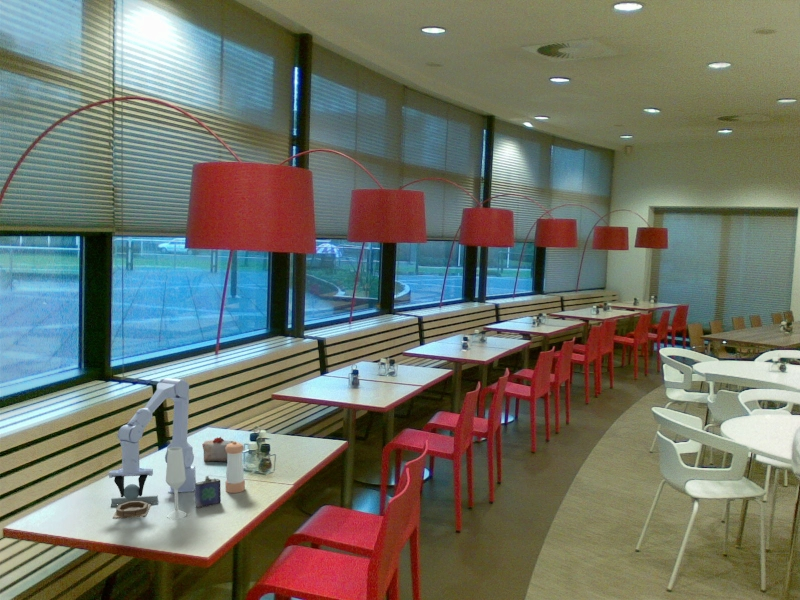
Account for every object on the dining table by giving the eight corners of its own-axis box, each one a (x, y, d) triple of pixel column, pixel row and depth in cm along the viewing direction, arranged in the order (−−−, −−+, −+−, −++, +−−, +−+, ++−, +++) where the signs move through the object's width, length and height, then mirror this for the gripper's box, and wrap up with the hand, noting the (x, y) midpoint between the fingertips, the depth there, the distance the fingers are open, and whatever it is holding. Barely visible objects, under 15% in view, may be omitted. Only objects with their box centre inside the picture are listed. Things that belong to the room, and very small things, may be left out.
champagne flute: (163, 514, 251) (162, 448, 248) (182, 510, 255) (181, 444, 252) (170, 520, 245) (168, 453, 243) (189, 516, 250) (188, 449, 247)
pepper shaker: (248, 489, 275) (247, 441, 273) (232, 494, 270) (231, 445, 268) (237, 484, 280) (237, 437, 278) (221, 489, 275) (220, 441, 273)
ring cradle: (151, 504, 260) (150, 499, 259) (145, 516, 249) (145, 511, 249) (119, 506, 258) (119, 501, 257) (112, 518, 247) (112, 513, 247)
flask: (196, 508, 256) (195, 479, 255) (194, 506, 259) (193, 477, 258) (221, 503, 261) (221, 475, 260) (219, 501, 263) (218, 473, 262)
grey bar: (158, 500, 263) (158, 494, 263) (157, 503, 260) (156, 497, 260) (112, 503, 261) (112, 496, 260) (110, 506, 258) (110, 499, 257)
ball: (141, 496, 256) (141, 481, 255) (138, 502, 251) (138, 486, 250) (125, 497, 255) (124, 482, 254) (122, 502, 250) (121, 487, 249)
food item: (200, 462, 307) (200, 440, 306) (206, 456, 315) (206, 434, 314) (231, 463, 306) (230, 440, 305) (236, 457, 314) (236, 435, 313)
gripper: (106, 463, 246) (107, 501, 247) (150, 461, 249) (151, 498, 250) (110, 456, 253) (112, 493, 254) (153, 454, 256) (154, 491, 257)
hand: (131, 495), depth 253 cm, fingers closed on ball, 5 cm apart
